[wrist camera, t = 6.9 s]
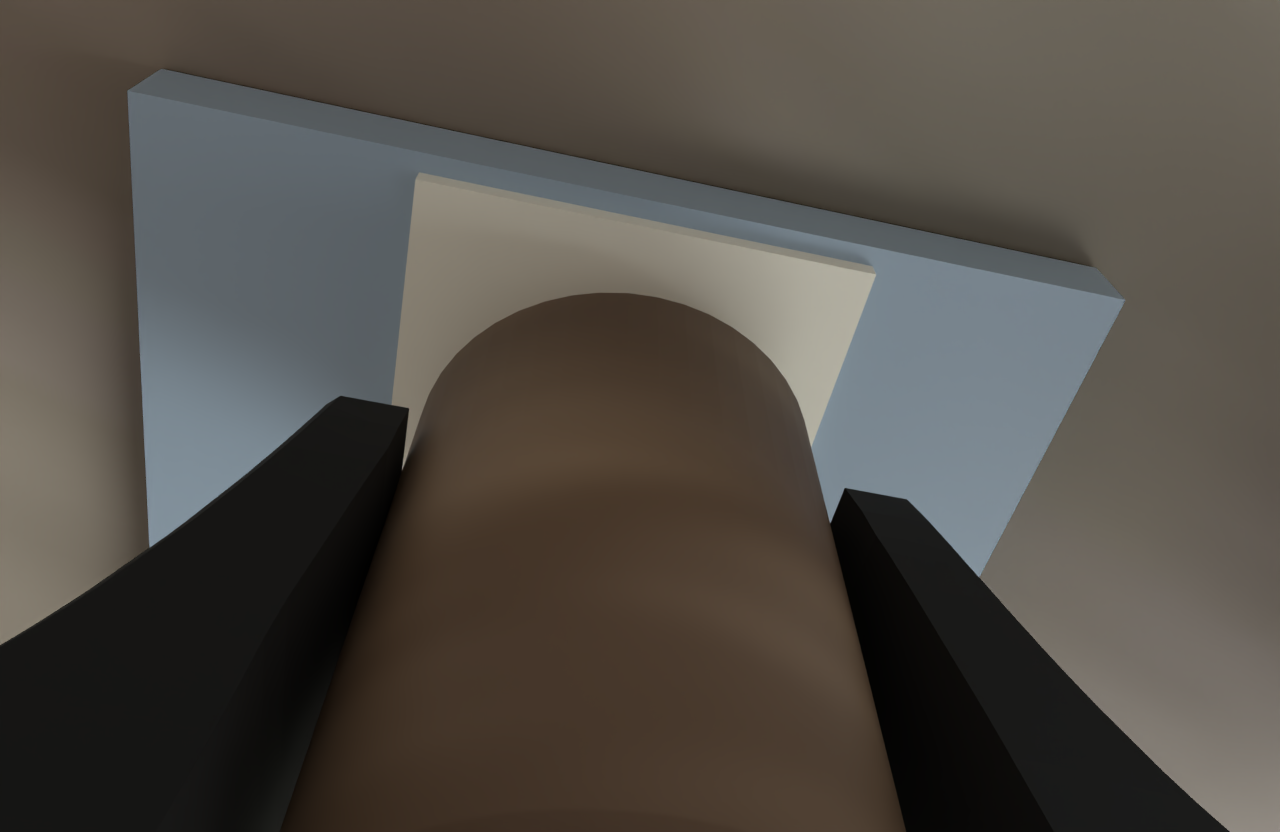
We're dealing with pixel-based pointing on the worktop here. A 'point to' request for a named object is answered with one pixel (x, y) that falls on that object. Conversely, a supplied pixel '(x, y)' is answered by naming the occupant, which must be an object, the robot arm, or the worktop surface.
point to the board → (555, 268)
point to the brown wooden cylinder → (603, 601)
